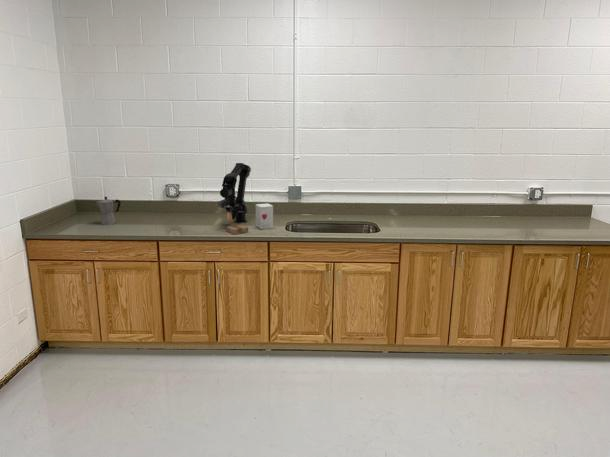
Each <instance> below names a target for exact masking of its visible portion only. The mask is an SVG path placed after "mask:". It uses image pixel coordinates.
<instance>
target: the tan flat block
mask: <svg viewBox="0 0 610 457" xmlns="http://www.w3.org/2000/svg"><path fill="white" fill-rule="evenodd" d="M225 228H226V231H225V232H227V233H230V234H232V235H240V234H247V233H249V227H247V226H246V225H243V224H234V225H229V226H228V225H227V226H226V227H225Z"/></svg>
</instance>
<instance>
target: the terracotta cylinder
mask: <svg viewBox="0 0 610 457" xmlns="http://www.w3.org/2000/svg"><path fill="white" fill-rule="evenodd" d="M226 214H227V215H226V216H227V217H226V218H227V222H236V221H235V219H232V213H231V211H227V212H226Z"/></svg>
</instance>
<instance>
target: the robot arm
mask: <svg viewBox="0 0 610 457" xmlns="http://www.w3.org/2000/svg"><path fill="white" fill-rule="evenodd" d="M251 170H252V168H251V166H250V165H247V164H245V163H244V162H236V163H235V165H234V167H233V169H232V170H231V171H230V172H229V173H227V174H225V175H224V177H223V180H222V184H221V189H220V191H219V194H220V196H221V197H222V198H223V199H221V200H219V201H217V204H218V207H219V208H221V209H224V210H225V211H226V213H227V211H231V213H232V219H235V221H234V222H237V223H239V224H240V223H244V222H245V223H247V219H246V214H248V208H247V205H246V201H245V199H244V198H245V192H246V185H247V179H248V178H249V177H250V174H251ZM238 177H239V179H238ZM237 182H238V186H237V187H236V185H237ZM236 188H237V194H236Z"/></svg>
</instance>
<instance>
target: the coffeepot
mask: <svg viewBox="0 0 610 457" xmlns="http://www.w3.org/2000/svg"><path fill="white" fill-rule="evenodd" d="M115 203H117V207H116V210H114V204H115ZM95 204H96V205H97V207H99V209H100V212H101V215H100V216H101V217H100V224H101V225H102V226H109V224H111V225H115V224H116V223H115V222H117V221H116V219H115V215H114V214H115V213H119V212H120V207H121V204H122V202H121V200H119V199H109V198H108V196H104V199H101V200H98V201H95ZM114 211H115V213H114ZM114 223H115V224H114Z"/></svg>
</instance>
